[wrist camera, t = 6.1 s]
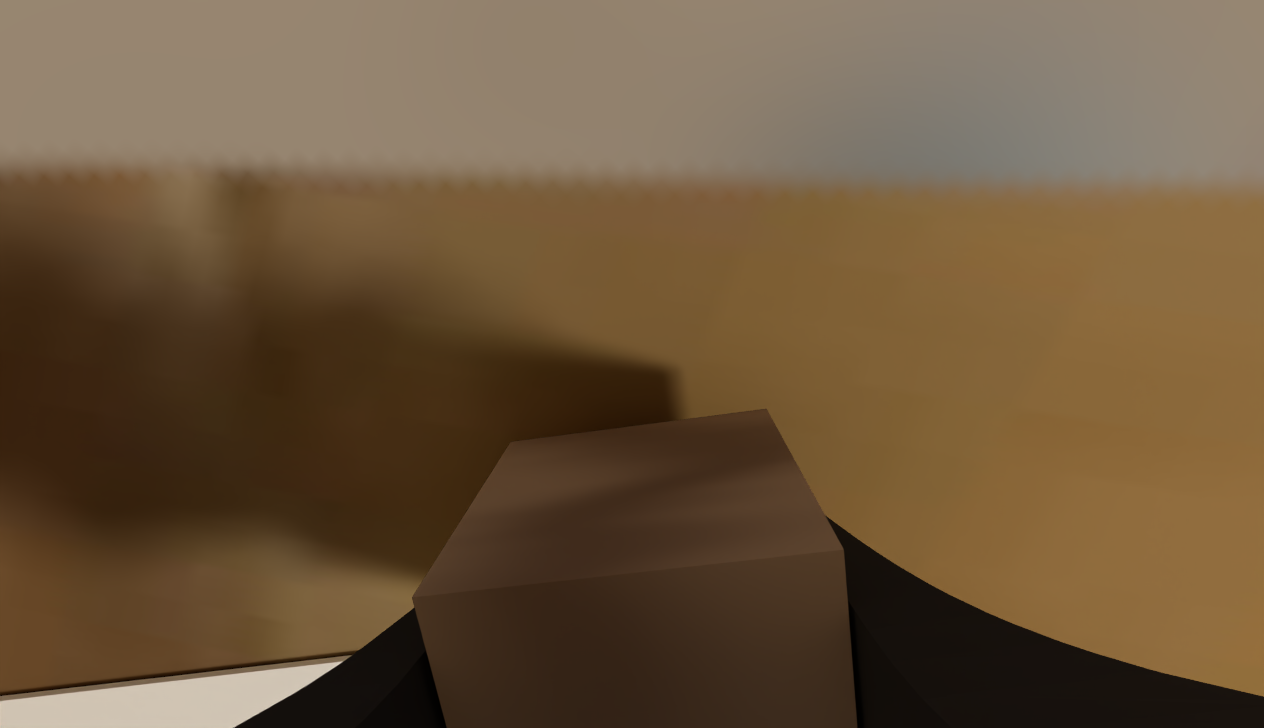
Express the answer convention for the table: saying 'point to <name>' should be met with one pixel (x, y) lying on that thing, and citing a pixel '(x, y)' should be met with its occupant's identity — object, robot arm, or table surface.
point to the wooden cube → (643, 586)
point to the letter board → (165, 699)
